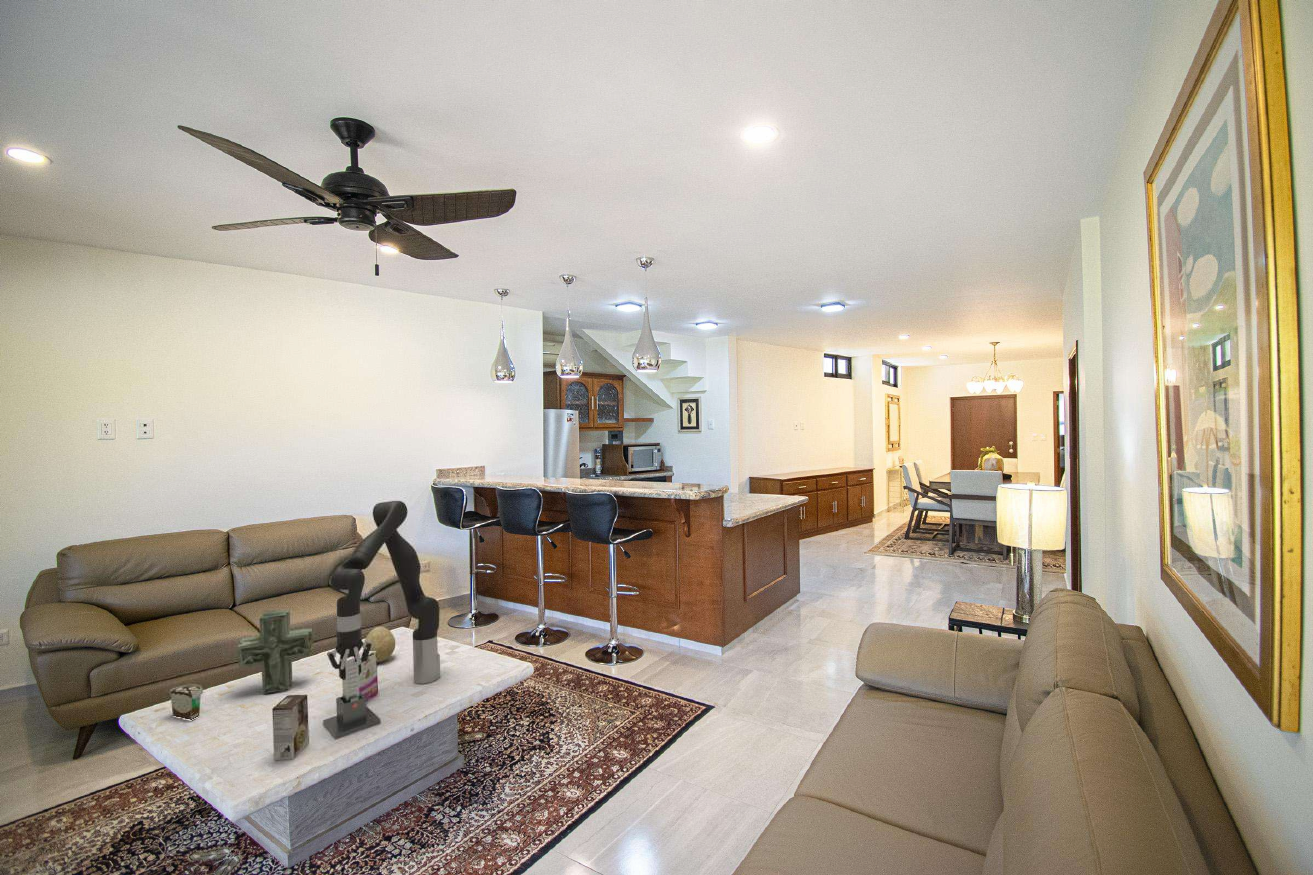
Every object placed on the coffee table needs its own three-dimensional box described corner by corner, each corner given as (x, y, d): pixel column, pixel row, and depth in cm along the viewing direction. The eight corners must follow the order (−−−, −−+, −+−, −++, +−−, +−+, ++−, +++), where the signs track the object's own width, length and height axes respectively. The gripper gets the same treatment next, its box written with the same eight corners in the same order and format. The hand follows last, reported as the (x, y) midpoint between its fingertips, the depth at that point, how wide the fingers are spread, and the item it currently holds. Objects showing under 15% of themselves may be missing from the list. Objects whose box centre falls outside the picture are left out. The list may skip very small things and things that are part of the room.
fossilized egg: (370, 656, 261) (369, 623, 261) (399, 654, 262) (398, 621, 262) (358, 667, 248) (357, 632, 248) (390, 665, 249) (389, 631, 249)
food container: (212, 713, 210) (211, 685, 210) (193, 721, 204) (192, 693, 204) (188, 708, 214) (187, 681, 214) (170, 716, 208) (169, 688, 208)
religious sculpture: (237, 701, 219) (235, 621, 219) (244, 689, 229) (242, 613, 229) (311, 688, 229) (309, 612, 228) (314, 677, 239) (312, 604, 239)
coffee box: (288, 744, 187) (287, 694, 187) (309, 743, 188) (308, 693, 188) (272, 760, 178) (271, 708, 178) (294, 759, 179) (293, 706, 178)
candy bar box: (367, 692, 224) (365, 649, 224) (378, 693, 223) (377, 650, 223) (346, 705, 213) (344, 661, 213) (358, 706, 212) (356, 662, 212)
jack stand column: (355, 702, 203) (354, 658, 203) (360, 706, 200) (359, 661, 199) (342, 706, 200) (341, 661, 200) (346, 710, 197) (345, 665, 196)
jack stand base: (366, 709, 210) (365, 682, 210) (380, 723, 200) (379, 694, 200) (323, 724, 200) (322, 695, 200) (335, 739, 190) (334, 708, 190)
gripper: (367, 619, 207) (368, 667, 207) (322, 629, 197) (324, 680, 197) (374, 624, 202) (376, 673, 202) (329, 635, 192) (330, 687, 192)
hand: (350, 676), depth 200 cm, fingers closed on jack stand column, 4 cm apart
